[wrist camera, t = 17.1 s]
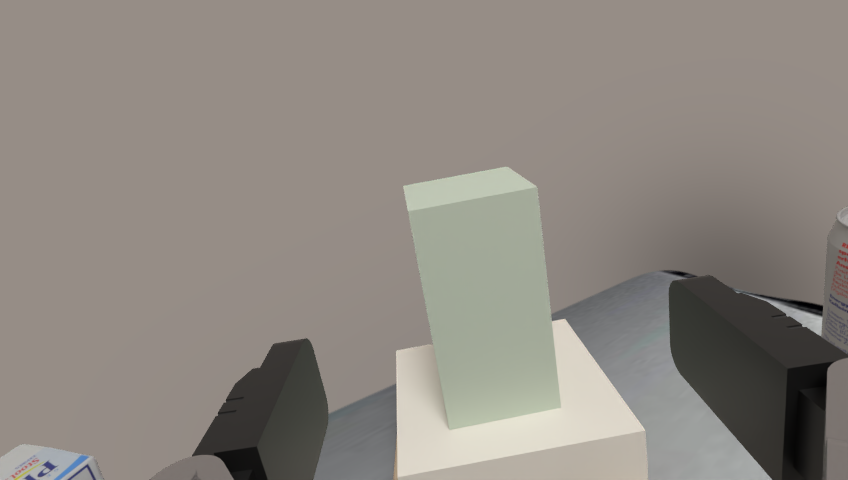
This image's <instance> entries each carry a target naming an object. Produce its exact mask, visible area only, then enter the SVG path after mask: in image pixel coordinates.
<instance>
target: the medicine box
mask: <svg viewBox="0 0 848 480" xmlns="http://www.w3.org/2000/svg"><path fill="white" fill-rule="evenodd" d="M0 480H104V478H103V476H102V473H101V471H100V469H99V466H98V463H97V461H96V459H95V457H93V456H89V455H82V454H78V453H73V452H70V451H65V450H59V449H55V448H49V447H42V446H35V445H27V444H22V445H19V446H17V447H16V448H14V449H13V450H11V451H10V452H8V453H7V454H6V455H4V456H3V457H1V458H0Z"/></svg>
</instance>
